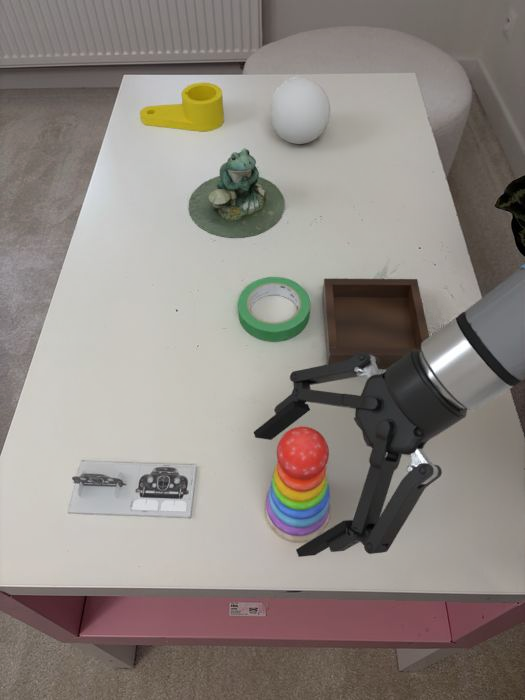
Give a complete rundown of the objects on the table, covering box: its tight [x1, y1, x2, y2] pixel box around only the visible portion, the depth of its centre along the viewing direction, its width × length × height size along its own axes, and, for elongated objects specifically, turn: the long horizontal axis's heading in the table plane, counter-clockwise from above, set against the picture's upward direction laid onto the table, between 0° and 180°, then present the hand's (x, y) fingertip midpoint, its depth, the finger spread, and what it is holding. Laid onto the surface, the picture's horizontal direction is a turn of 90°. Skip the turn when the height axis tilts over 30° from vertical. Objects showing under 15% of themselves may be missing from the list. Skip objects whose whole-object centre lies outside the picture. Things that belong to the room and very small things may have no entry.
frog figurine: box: [188, 147, 286, 239], centre depth 92 cm, size 18×18×12 cm
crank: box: [139, 82, 225, 132], centre depth 110 cm, size 18×8×6 cm, turn 87°
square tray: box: [321, 278, 430, 370], centre depth 78 cm, size 14×14×4 cm
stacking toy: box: [264, 425, 332, 544], centre depth 56 cm, size 8×8×19 cm
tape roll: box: [237, 276, 311, 342], centre depth 80 cm, size 11×11×3 cm
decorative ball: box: [269, 76, 331, 145], centre depth 103 cm, size 12×12×12 cm
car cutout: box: [67, 460, 198, 519], centre depth 63 cm, size 15×7×4 cm, turn 88°
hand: (282, 490), depth 56 cm, fingers open, 13 cm apart
